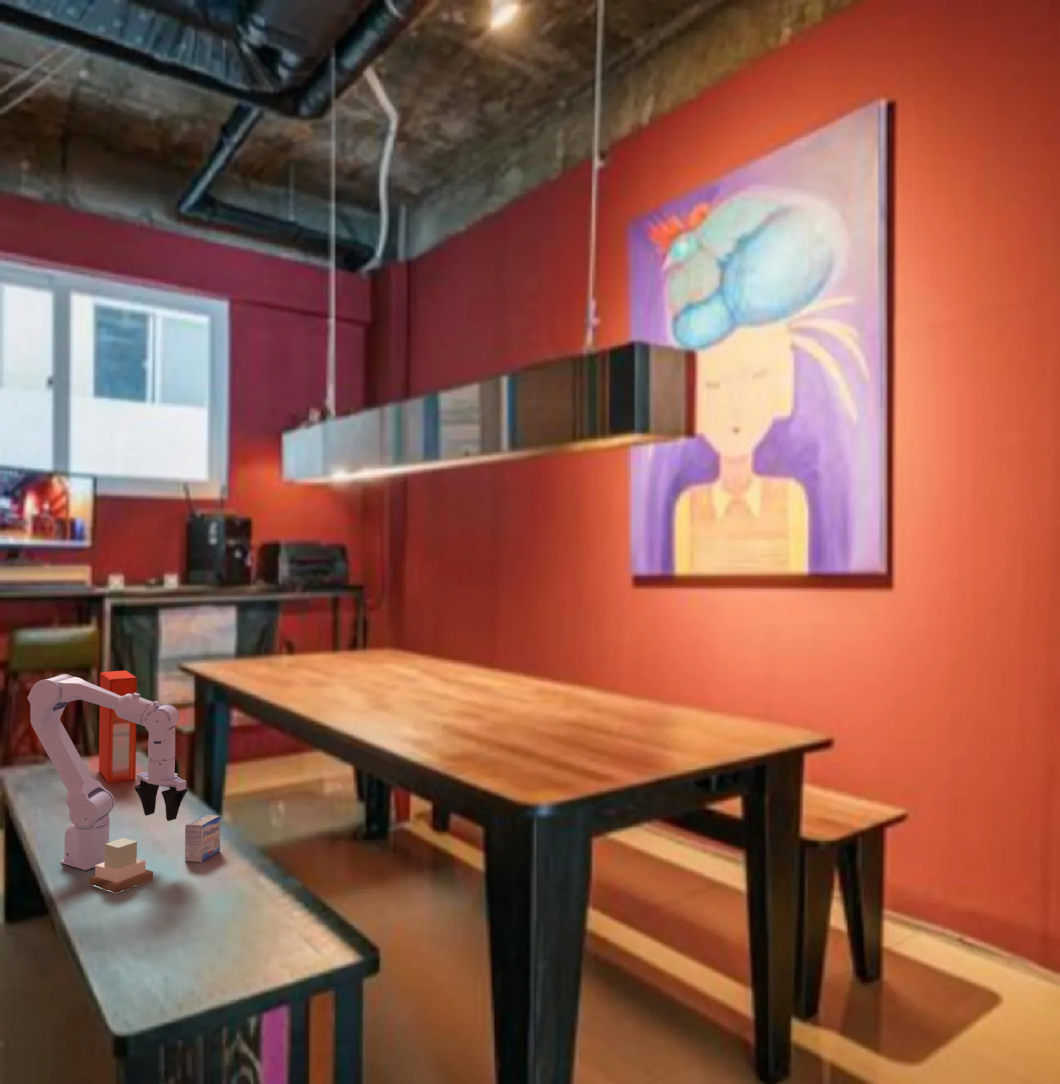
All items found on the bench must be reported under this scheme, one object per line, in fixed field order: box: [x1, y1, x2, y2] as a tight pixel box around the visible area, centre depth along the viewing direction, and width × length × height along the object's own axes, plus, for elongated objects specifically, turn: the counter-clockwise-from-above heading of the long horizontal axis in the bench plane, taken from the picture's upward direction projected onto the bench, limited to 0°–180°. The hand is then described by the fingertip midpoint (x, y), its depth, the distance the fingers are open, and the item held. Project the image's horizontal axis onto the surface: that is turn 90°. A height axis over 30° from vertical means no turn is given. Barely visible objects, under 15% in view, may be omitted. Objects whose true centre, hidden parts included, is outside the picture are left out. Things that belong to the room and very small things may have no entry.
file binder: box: [98, 670, 138, 784], centre depth 266 cm, size 8×17×32 cm, turn 36°
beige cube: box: [104, 837, 138, 869], centre depth 181 cm, size 4×4×4 cm
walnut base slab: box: [88, 868, 154, 894], centre depth 182 cm, size 9×9×2 cm
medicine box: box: [184, 814, 221, 863], centre depth 198 cm, size 8×4×9 cm, turn 168°
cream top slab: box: [94, 858, 146, 883], centre depth 182 cm, size 7×7×2 cm
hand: (160, 817), depth 194 cm, fingers open, 7 cm apart
